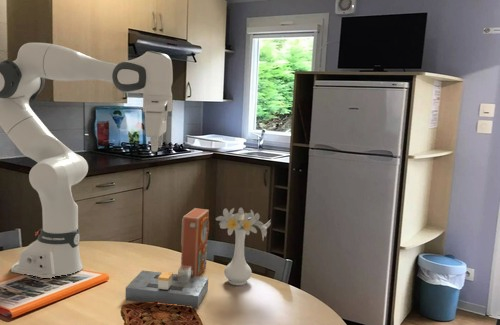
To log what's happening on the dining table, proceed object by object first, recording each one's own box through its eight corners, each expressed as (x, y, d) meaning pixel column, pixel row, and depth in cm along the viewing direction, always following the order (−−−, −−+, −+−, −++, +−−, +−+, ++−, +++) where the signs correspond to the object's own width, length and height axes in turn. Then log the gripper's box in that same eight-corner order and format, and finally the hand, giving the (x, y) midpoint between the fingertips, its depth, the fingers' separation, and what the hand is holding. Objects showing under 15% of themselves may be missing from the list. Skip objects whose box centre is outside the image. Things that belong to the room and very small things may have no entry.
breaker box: (125, 300, 139) (125, 275, 138) (142, 282, 153) (142, 259, 152) (197, 308, 137) (198, 283, 136) (207, 289, 151) (208, 266, 149)
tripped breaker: (157, 288, 139) (158, 277, 138) (162, 282, 143) (162, 271, 143) (167, 289, 138) (168, 278, 138) (172, 283, 143) (172, 272, 142)
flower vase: (266, 291, 152) (272, 216, 148) (210, 287, 152) (214, 213, 148) (266, 276, 165) (271, 207, 161) (214, 272, 165) (218, 203, 161)
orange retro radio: (209, 265, 171) (196, 281, 156) (190, 263, 172) (176, 278, 158) (212, 208, 168) (199, 219, 153) (193, 206, 169) (178, 217, 154)
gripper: (152, 103, 155) (151, 145, 157) (141, 105, 135) (141, 153, 137) (171, 104, 156) (170, 146, 158) (163, 106, 135) (162, 153, 137)
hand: (156, 149), depth 147 cm, fingers open, 8 cm apart
